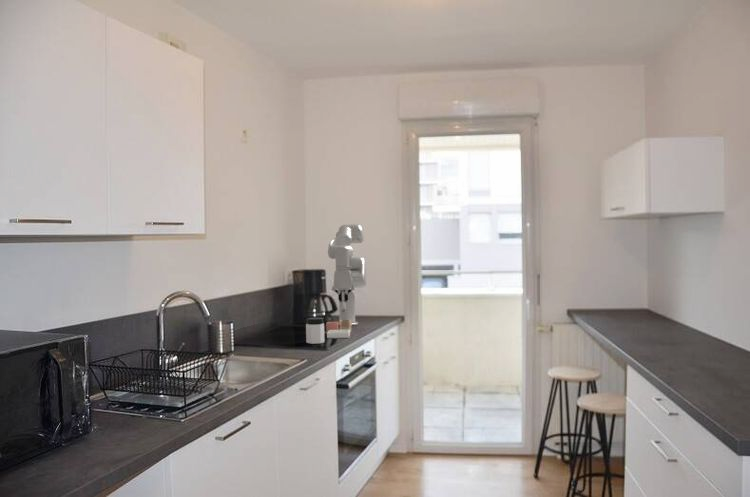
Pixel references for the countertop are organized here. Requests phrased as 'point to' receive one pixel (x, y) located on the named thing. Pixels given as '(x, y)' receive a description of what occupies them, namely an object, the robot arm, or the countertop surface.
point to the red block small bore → (331, 326)
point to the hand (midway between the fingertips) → (343, 301)
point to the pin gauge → (343, 301)
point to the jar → (315, 330)
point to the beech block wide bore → (345, 325)
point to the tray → (338, 334)
